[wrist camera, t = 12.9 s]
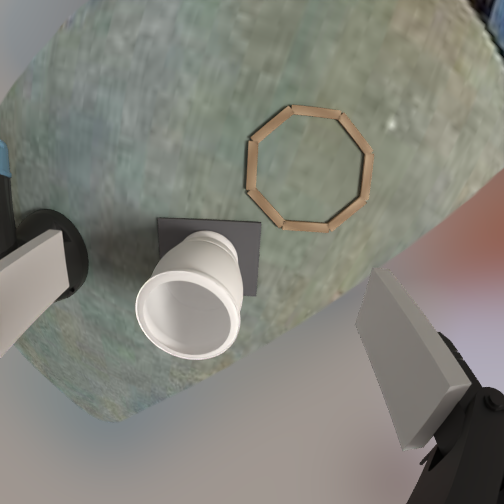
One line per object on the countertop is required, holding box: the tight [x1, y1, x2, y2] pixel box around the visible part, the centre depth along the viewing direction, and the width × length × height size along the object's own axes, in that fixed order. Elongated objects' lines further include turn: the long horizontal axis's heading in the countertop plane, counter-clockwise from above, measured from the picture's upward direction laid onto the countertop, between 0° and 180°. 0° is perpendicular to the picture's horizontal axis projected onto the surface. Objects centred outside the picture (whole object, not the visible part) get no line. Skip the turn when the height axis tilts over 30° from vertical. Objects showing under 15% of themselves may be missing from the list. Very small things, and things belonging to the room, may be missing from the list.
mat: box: [158, 218, 261, 296], centre depth 43 cm, size 14×11×1 cm
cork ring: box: [246, 105, 374, 233], centre depth 38 cm, size 16×16×1 cm
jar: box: [136, 231, 243, 360], centre depth 35 cm, size 11×10×15 cm
